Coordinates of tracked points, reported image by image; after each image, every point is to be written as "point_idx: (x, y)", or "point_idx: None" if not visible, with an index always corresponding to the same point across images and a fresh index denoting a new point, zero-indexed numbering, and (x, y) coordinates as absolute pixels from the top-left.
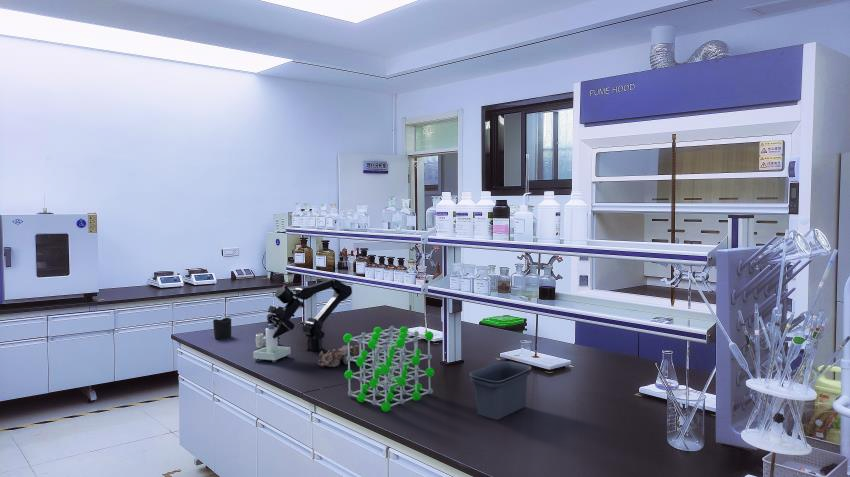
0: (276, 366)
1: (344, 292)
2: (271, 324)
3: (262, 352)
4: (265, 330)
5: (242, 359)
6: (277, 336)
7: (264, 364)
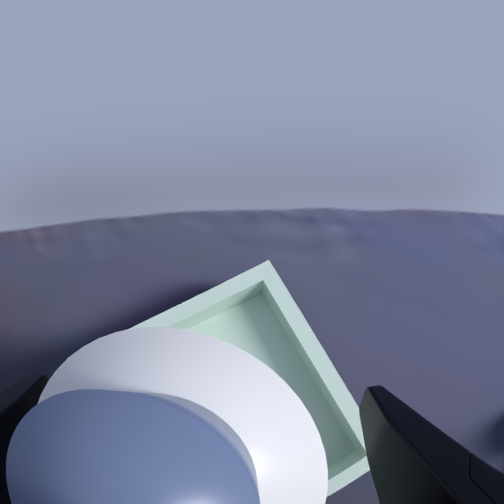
0: (49, 340)
1: None
2: (62, 501)
3: (183, 310)
4: (415, 417)
5: (364, 254)
6: None
7: (138, 311)
